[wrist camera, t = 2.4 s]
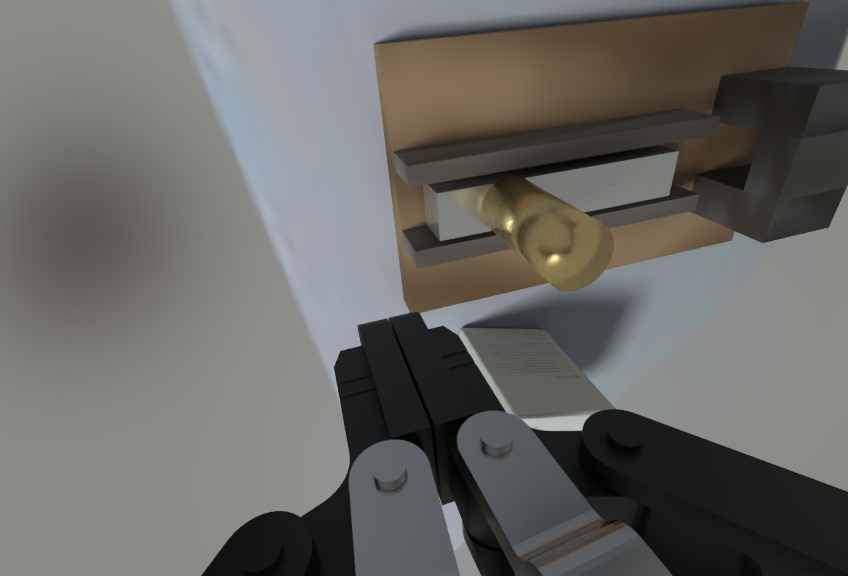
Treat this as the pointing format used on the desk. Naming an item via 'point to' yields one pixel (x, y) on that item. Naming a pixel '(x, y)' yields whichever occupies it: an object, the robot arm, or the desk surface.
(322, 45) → the desk surface
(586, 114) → the plate
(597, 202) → the slide latch
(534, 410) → the skincare box
